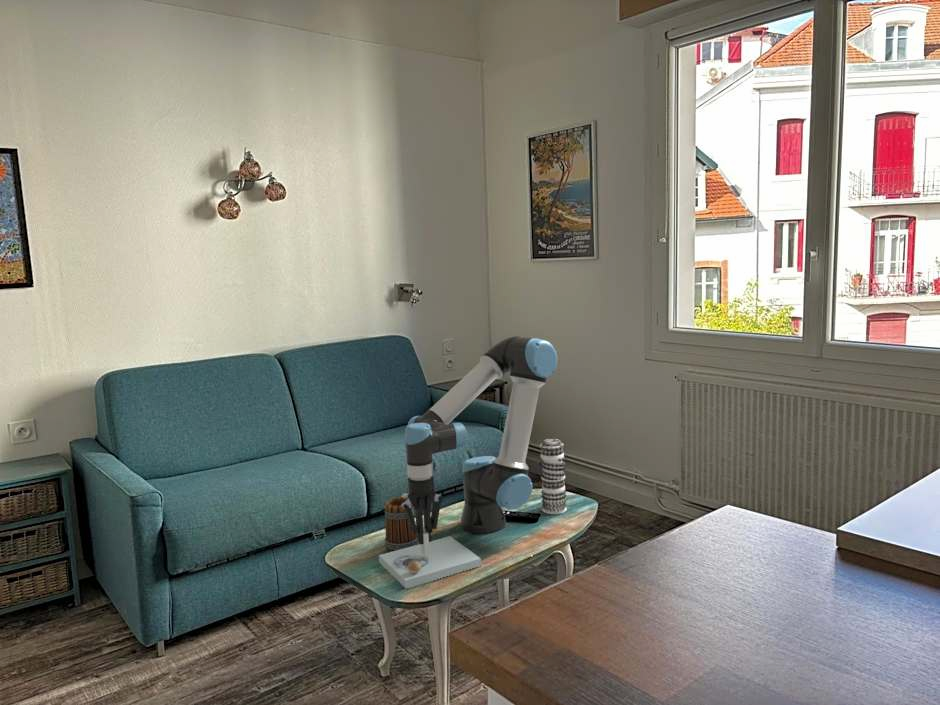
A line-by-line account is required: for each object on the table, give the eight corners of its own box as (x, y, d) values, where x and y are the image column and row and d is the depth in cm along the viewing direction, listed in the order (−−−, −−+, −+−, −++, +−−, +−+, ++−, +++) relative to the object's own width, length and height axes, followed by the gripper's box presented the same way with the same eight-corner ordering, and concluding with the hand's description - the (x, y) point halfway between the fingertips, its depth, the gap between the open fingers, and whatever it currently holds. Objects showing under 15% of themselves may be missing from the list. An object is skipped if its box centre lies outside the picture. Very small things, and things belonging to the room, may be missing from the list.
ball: (413, 565, 214) (410, 554, 213) (418, 569, 211) (414, 559, 210) (402, 570, 213) (399, 560, 212) (407, 575, 210) (403, 564, 209)
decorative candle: (561, 503, 258) (558, 435, 255) (571, 512, 250) (569, 442, 246) (537, 507, 256) (534, 438, 252) (547, 516, 247) (544, 445, 243)
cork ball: (417, 568, 207) (416, 557, 207) (422, 573, 204) (422, 561, 203) (406, 572, 205) (405, 560, 205) (411, 577, 202) (410, 564, 202)
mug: (413, 554, 223) (410, 507, 221) (380, 553, 225) (377, 507, 223) (426, 534, 238) (423, 490, 236) (395, 533, 240) (392, 489, 238)
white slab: (450, 543, 229) (449, 536, 229) (481, 566, 212) (480, 558, 212) (379, 563, 218) (378, 555, 218) (406, 588, 201) (405, 580, 200)
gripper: (435, 469, 217) (439, 543, 220) (394, 477, 211) (400, 554, 214) (446, 475, 210) (450, 552, 214) (405, 484, 204) (410, 563, 208)
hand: (425, 553), depth 214 cm, fingers closed
